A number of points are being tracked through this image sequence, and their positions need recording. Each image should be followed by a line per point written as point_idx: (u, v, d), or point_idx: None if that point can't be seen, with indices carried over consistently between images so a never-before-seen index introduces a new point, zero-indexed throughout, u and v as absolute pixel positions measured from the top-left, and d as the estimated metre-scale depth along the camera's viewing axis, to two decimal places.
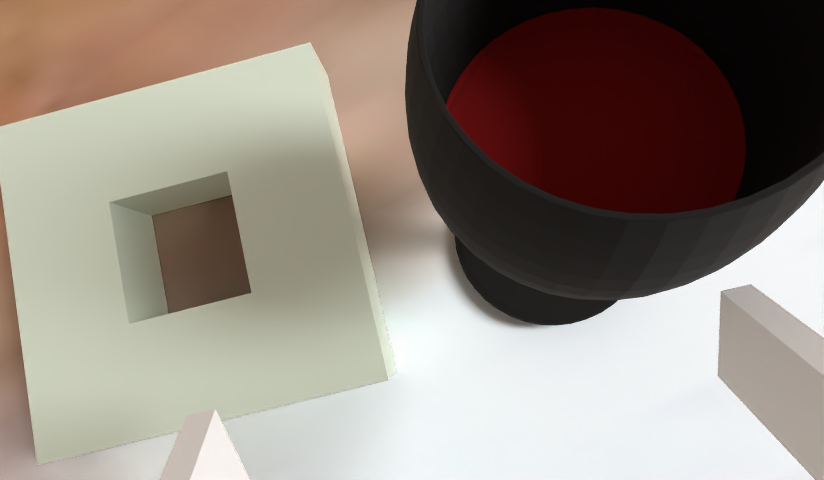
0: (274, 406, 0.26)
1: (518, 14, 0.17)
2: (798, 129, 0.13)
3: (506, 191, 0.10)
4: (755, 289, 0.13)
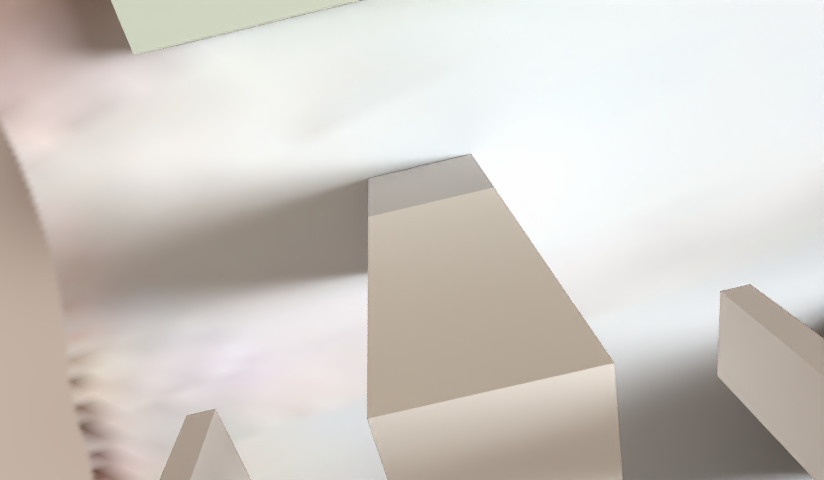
0: None
1: None
2: None
3: None
4: (754, 289, 0.13)
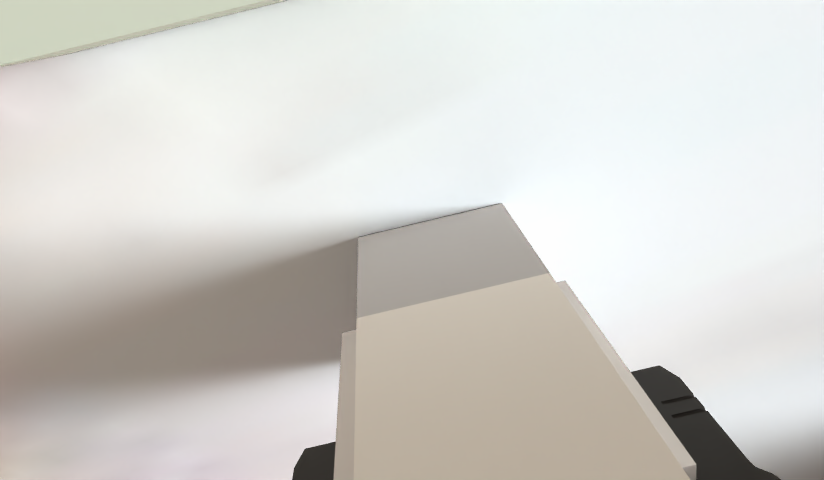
0: None
1: None
2: None
3: None
4: (566, 285, 0.15)
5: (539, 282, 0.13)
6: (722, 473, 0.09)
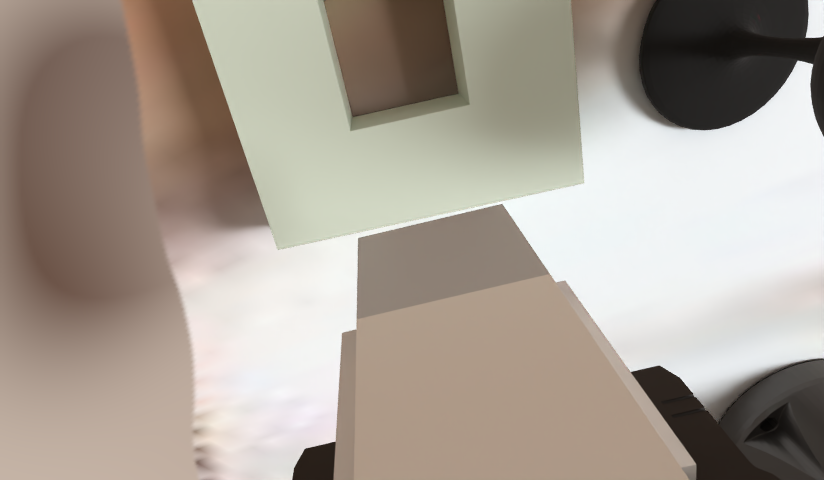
0: (486, 203, 0.30)
1: None
2: None
3: None
4: (566, 285, 0.15)
5: (539, 283, 0.13)
6: (722, 473, 0.09)
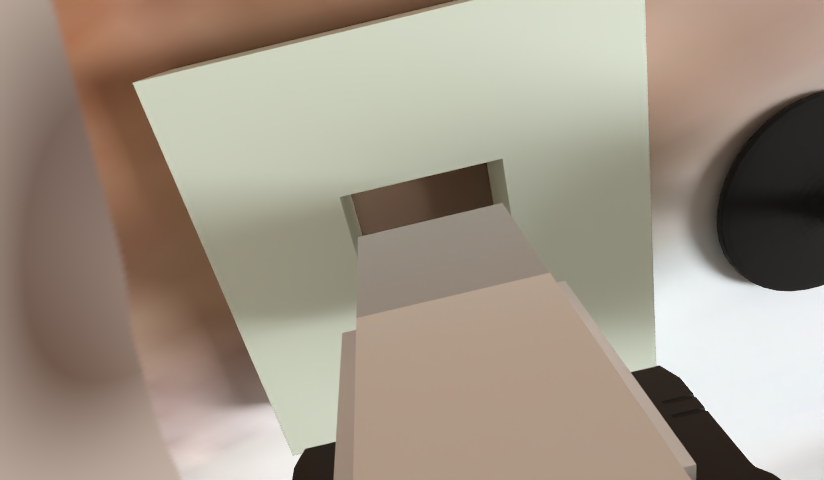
0: None
1: None
2: None
3: None
4: (566, 285, 0.15)
5: (539, 282, 0.13)
6: (722, 473, 0.09)
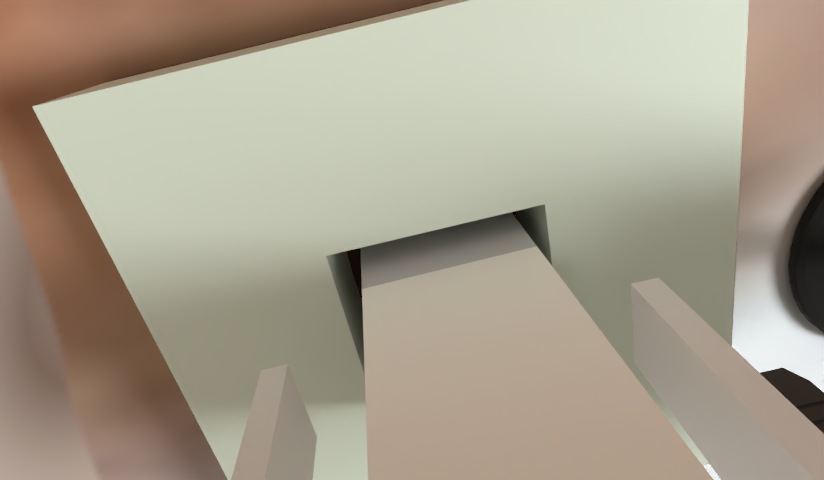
0: None
1: None
2: None
3: None
4: (661, 282, 0.14)
5: (527, 254, 0.14)
6: None
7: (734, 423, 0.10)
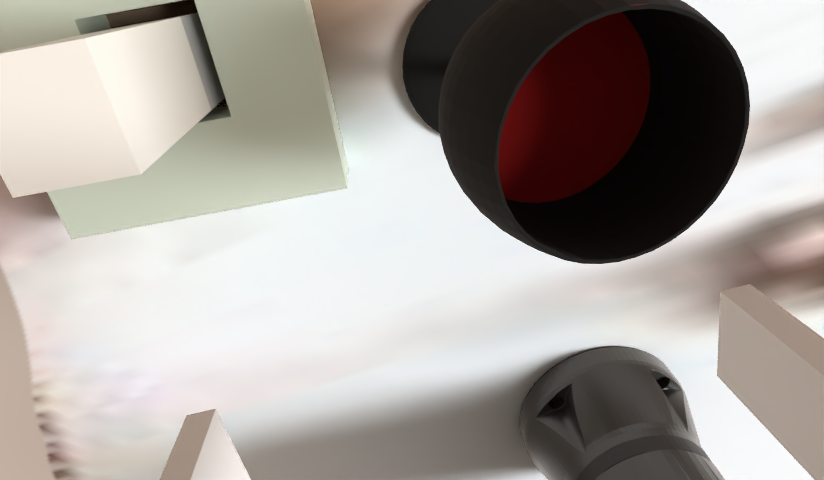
0: (259, 203, 0.34)
1: None
2: (653, 175, 0.23)
3: (503, 215, 0.18)
4: (754, 289, 0.13)
5: (171, 18, 0.28)
6: None
7: None
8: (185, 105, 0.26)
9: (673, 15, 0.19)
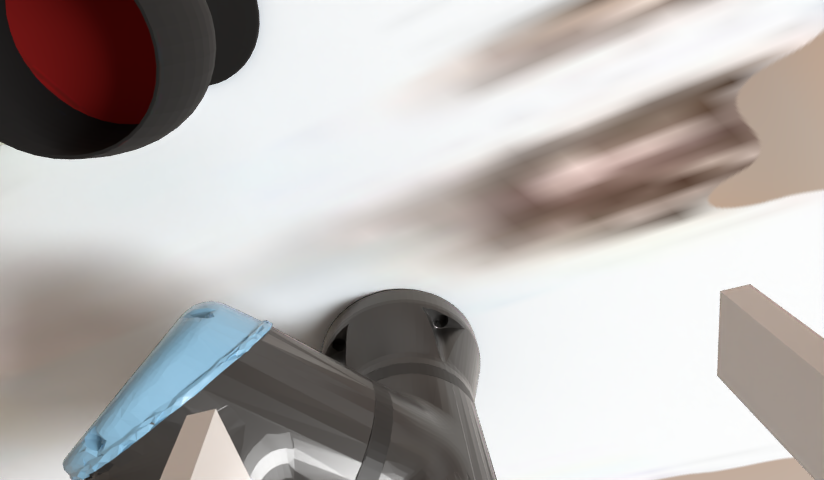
0: None
1: None
2: None
3: None
4: (754, 289, 0.13)
5: None
6: None
7: None
8: None
9: None
